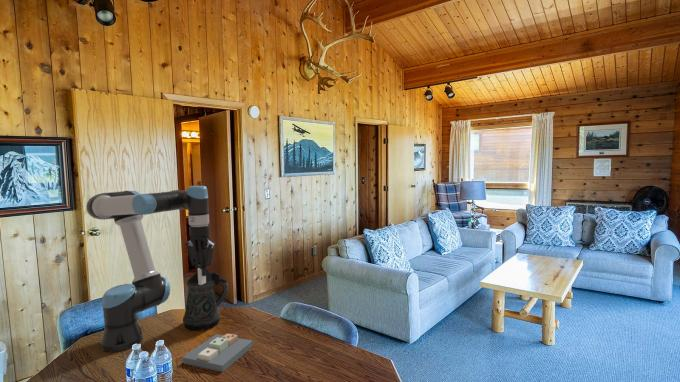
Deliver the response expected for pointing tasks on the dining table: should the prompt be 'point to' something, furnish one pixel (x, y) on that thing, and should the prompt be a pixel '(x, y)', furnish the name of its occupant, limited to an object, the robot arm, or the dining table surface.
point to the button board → (223, 358)
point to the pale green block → (219, 344)
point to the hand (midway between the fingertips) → (202, 283)
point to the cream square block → (208, 354)
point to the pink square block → (230, 338)
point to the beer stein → (203, 302)
